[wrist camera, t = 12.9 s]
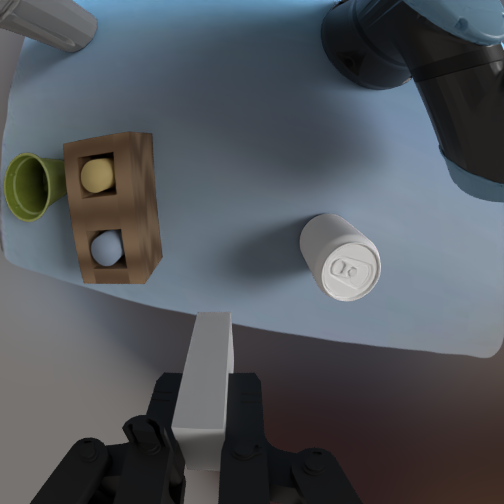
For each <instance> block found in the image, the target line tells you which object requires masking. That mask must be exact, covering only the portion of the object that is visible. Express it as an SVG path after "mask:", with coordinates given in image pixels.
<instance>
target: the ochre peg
mask: <svg viewBox="0 0 504 504" xmlns="http://www.w3.org/2000/svg"><path fill="white" fill-rule="evenodd" d="M81 181H82V184H83V186H84V187H85V189H86V190H88V191H89V192H92V193H97V192H100V191H103V190H105V189H108V188H111V187H113V186H116V179H115V167H114V157H109V158H103V159H96V160H91V161H89V162H87V163H86V164H85V165H84V167H83V169H82V172H81Z"/></svg>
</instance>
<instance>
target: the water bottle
mask: <svg viewBox="0 0 504 504" xmlns="http://www.w3.org/2000/svg"><path fill="white" fill-rule="evenodd" d="M0 28H2V29H6V30H9V31H12V32H14V33H17V34H20V35H23V36H26V37H29V38H31V39H34V40H37V41H40V42H42V43H45V44H47V45H50V46H52V47H55V48H57V49H60V50H62V51H65V52H76V51H78V50H80V49H82V48H84V47H85V46H86V45H87V44H88V43H89V42H90V41H91V40H92V39H93V37H94V34H95V32H96V30H97V19H96V18H95V17H94V16H93V15H92V14H91V13H89V12H88V11H86V10H85V9H84V8H82V7H81V6H79V5H78V4H77V3H75V2H74V1H72V0H0Z"/></svg>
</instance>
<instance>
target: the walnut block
mask: <svg viewBox="0 0 504 504" xmlns="http://www.w3.org/2000/svg"><path fill="white" fill-rule="evenodd" d="M63 150H64V164H65V176H66V186H67V194H68V202H69V209H70V216H71V223H72V229H73V234H74V240H75V245H76V250H77V255H78V260H79V265H80V269H81V274H82V278H83V282H84V283H94V284H145V283H146V281H147V280H148V278H149V277H150V275H151V274H152V272H153V271H154V269H155V268H156V266H157V265H158V263H159V262H160V260H161V259H162V249H161V240H160V231H159V222H158V212H157V201H156V189H155V176H154V160H153V140H152V134H151V133H139V132H124V133H117V134H111V135H106V136H100V137H95V138H89V139H84V140H79V141H75V142H70V143H65V144H63ZM109 157H114V167H115V179H116V186H113V187H111V188H108V189H105V190H103V191H100V192H97V193H92V192H89V191H88V190H86V189H85V187H84V186H83V184H82V181H81V172H82V169H83V167H84V165H85V164H86V163H87V162H89V161H91V160H96V159H103V158H109ZM112 229H121V232H122V238H123V245H124V251H125V253H124V254H123V255H122V256H121V257H120V258H119V259H118V260H117V261H116V262H115V263H114V264H113V265H111V266H103V265H101V264H99V263H98V262H97V261H96V260H95V259H94V257H93V255H92V252H91V246H92V243H93V241H94V240H95V239H96V238H97V237H98V236H100V235H101V234H103V233H104V232H105V231H107V230H112Z"/></svg>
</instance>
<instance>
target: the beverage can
mask: <svg viewBox="0 0 504 504" xmlns="http://www.w3.org/2000/svg"><path fill="white" fill-rule="evenodd" d="M300 250H301V253H302V255H303V257H304V259H305V261H306V263H307V265H308V267H309V269H310V271H311V273H312V275H313V277H314V279H315V281H316V283H317V285H318V287H319V288H320V289H321V291H322V292H324V293H325V294H326V295H328V296H329V297H332V298H334V299H337V300H340V301H353V300H357V299H359V298H361V297H363V296H365V295H366V294H368V293H369V292H370V291H371V290H372V289H373V287H374V286H375V285H376V283H377V281H378V279H379V276H380V271H381V264H380V257H379V253H378V251H377V248H376V247H375V245H374V244H373V243H372V242H371V241H370V240H369V239H368V238H367V237H365V236H364V235H363V234H362V233H361V232H359V231H358V230H357V229H356V228H355V227H353V226H352V225H351V224H350V223H348V222H347V221H346V220H345V219H343V218H342V217H340V216H338V215H335V214H322V215H319V216H316V217H314V218H313V219H311V220H310V221H309V222H308V223H307V224H306V225H305V227H304V228H303V230H302V232H301V235H300Z"/></svg>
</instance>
